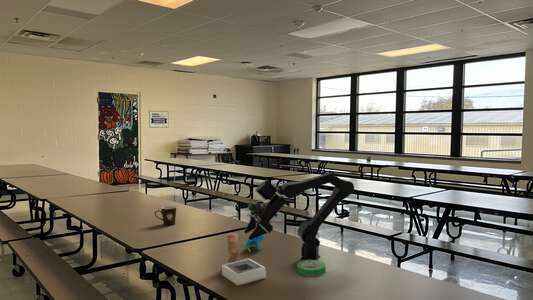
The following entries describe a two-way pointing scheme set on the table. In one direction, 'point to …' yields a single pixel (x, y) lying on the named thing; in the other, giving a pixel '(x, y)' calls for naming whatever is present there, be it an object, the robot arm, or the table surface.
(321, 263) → the tape roll
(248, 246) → the blue figurine
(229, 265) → the bore box
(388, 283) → the table surface
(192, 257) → the table surface
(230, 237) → the peg
